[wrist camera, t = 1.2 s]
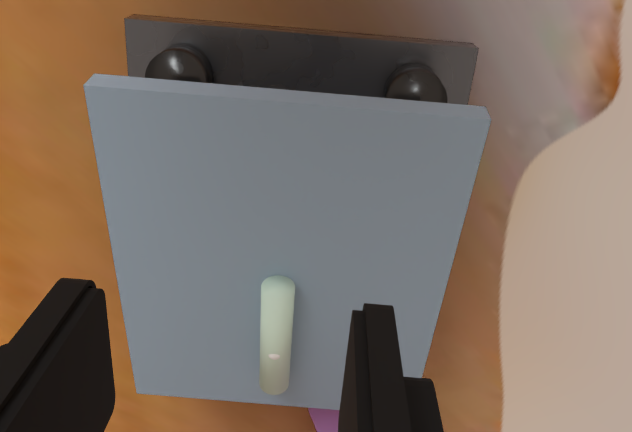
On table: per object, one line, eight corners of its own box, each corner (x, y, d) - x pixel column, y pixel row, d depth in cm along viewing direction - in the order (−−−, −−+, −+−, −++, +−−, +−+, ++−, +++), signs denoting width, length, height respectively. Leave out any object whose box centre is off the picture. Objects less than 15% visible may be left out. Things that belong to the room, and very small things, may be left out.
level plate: (94, 73, 24) (66, 103, 21) (485, 106, 24) (500, 139, 21) (142, 376, 35) (128, 417, 32) (409, 399, 35) (414, 441, 33)
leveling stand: (133, 14, 31) (86, 34, 25) (472, 42, 31) (503, 70, 25) (153, 332, 40) (121, 401, 34) (413, 354, 40) (425, 426, 34)
